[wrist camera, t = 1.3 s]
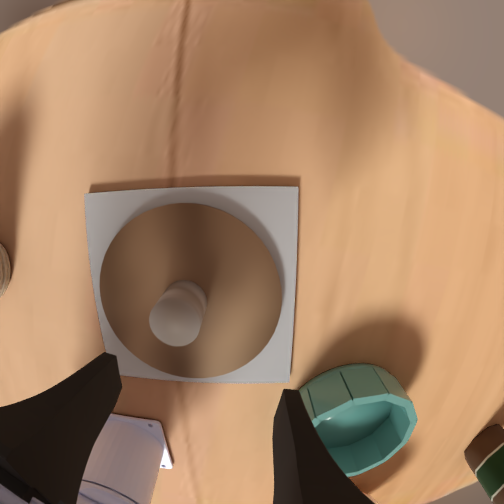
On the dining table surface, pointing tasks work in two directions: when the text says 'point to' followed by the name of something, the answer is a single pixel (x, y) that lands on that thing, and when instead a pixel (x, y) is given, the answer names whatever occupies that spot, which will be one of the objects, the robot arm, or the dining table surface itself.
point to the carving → (4, 270)
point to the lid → (190, 290)
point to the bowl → (359, 415)
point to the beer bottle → (488, 461)
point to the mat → (243, 208)
